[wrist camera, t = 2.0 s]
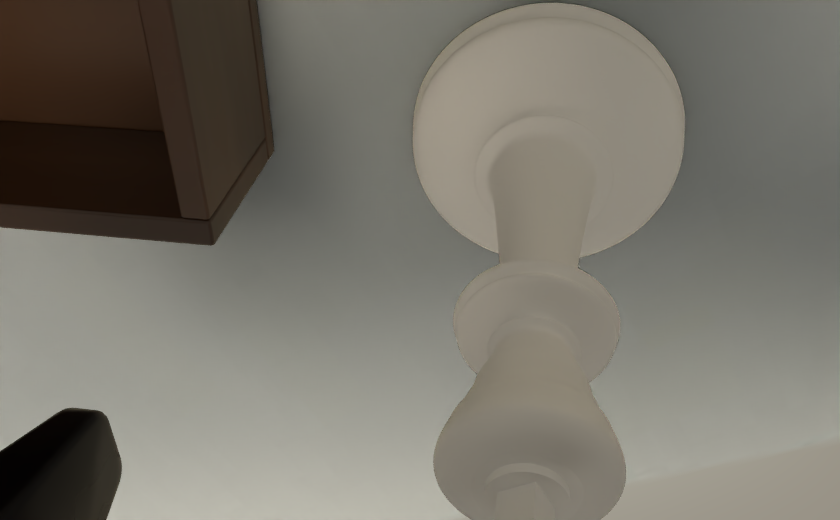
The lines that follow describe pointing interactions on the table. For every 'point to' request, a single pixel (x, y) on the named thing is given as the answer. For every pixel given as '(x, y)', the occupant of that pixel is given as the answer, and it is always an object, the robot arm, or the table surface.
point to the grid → (130, 116)
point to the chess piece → (542, 242)
